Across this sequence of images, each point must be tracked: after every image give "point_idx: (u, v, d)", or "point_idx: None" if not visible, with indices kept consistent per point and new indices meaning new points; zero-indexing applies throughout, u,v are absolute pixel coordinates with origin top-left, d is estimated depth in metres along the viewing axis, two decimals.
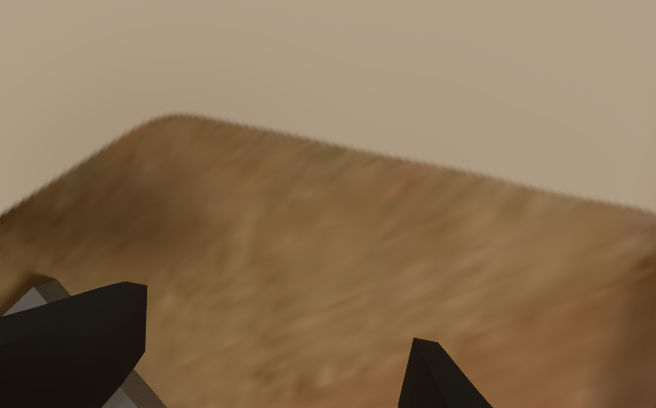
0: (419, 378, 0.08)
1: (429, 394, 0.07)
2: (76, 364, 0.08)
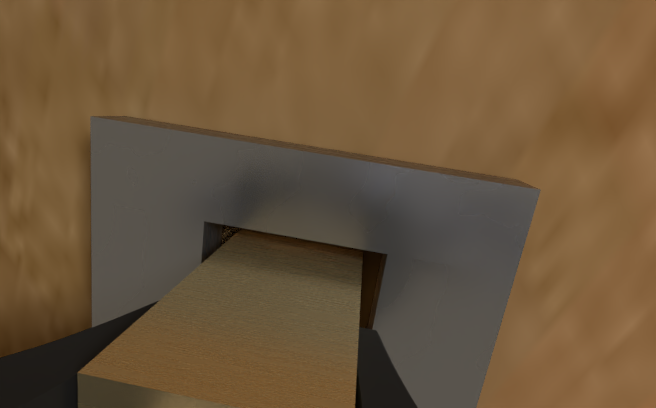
0: None
1: None
2: None
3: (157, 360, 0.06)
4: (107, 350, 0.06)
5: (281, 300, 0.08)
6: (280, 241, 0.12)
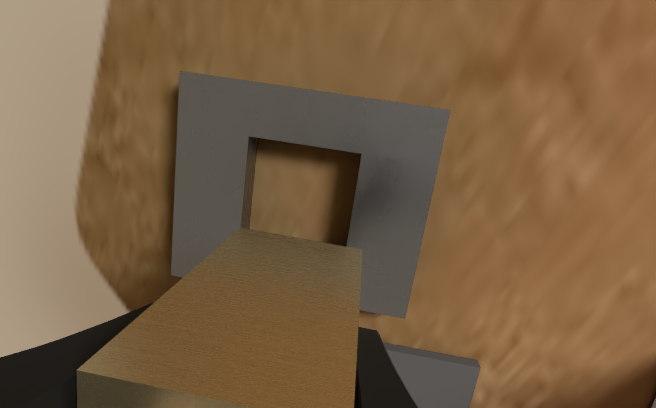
0: None
1: None
2: None
3: (156, 357, 0.06)
4: (106, 346, 0.06)
5: (281, 298, 0.08)
6: (280, 240, 0.12)
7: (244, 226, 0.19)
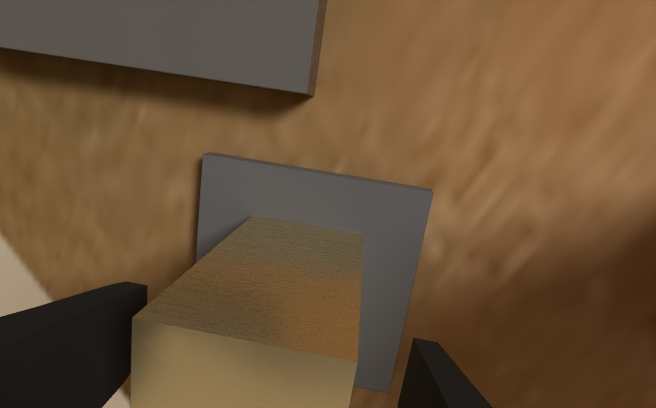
0: (419, 378, 0.08)
1: (429, 394, 0.07)
2: (76, 365, 0.08)
3: (194, 311, 0.07)
4: (153, 302, 0.07)
5: (293, 271, 0.09)
6: (289, 225, 0.13)
7: None
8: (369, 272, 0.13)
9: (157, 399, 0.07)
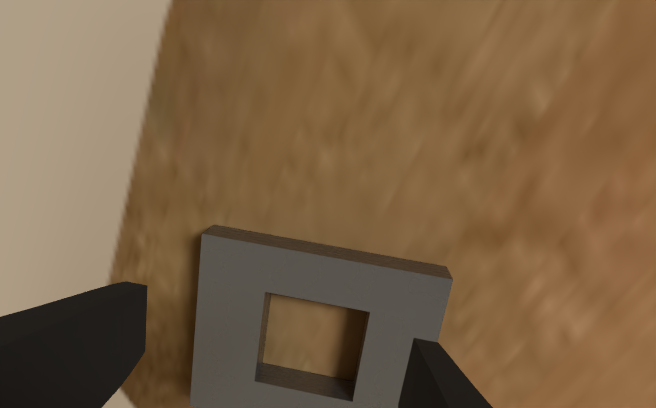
0: (419, 378, 0.08)
1: (429, 394, 0.07)
2: (76, 365, 0.08)
3: None
4: None
5: None
6: None
7: (259, 362, 0.20)
8: None
9: None
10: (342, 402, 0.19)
